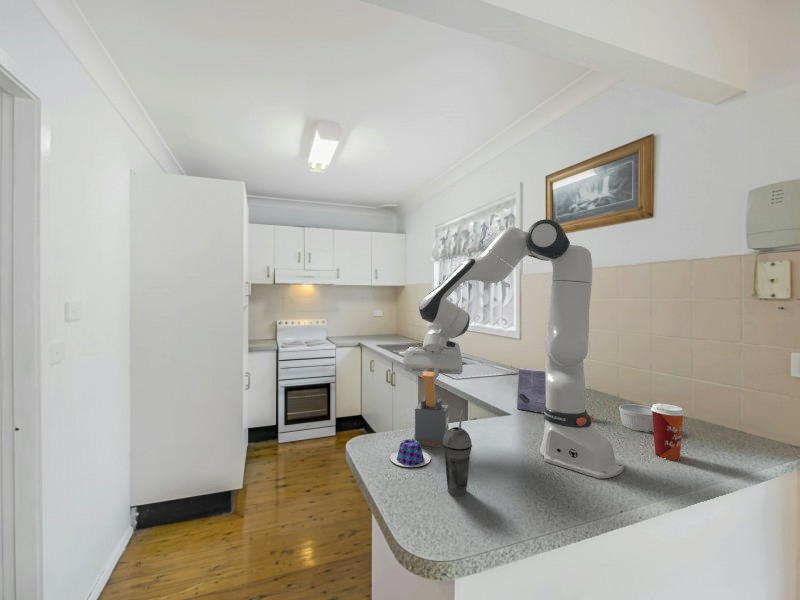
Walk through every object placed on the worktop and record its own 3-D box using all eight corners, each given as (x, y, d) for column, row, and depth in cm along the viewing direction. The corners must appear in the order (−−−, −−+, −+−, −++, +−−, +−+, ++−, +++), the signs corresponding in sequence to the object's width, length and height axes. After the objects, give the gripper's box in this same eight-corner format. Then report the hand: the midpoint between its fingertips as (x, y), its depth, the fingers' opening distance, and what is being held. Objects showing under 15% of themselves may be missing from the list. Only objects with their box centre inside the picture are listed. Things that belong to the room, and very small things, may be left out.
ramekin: (622, 431, 131) (622, 411, 131) (616, 419, 143) (616, 402, 143) (666, 436, 126) (666, 416, 126) (656, 424, 138) (656, 406, 138)
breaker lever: (426, 404, 121) (423, 371, 116) (437, 405, 120) (434, 371, 115) (425, 409, 119) (422, 375, 114) (436, 409, 118) (433, 376, 113)
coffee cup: (675, 464, 104) (675, 412, 104) (645, 453, 111) (645, 405, 111) (690, 458, 108) (690, 408, 108) (660, 448, 115) (660, 401, 115)
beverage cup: (439, 484, 92) (439, 406, 92) (467, 483, 93) (467, 405, 93) (445, 499, 85) (445, 415, 85) (475, 498, 86) (475, 414, 86)
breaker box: (417, 435, 126) (417, 395, 126) (451, 438, 123) (451, 397, 123) (411, 443, 118) (411, 401, 118) (448, 447, 115) (448, 404, 115)
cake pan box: (566, 414, 150) (566, 371, 150) (564, 417, 146) (564, 373, 146) (519, 406, 160) (519, 367, 160) (516, 409, 156) (516, 368, 156)
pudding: (437, 457, 109) (437, 439, 109) (418, 473, 99) (418, 454, 99) (403, 448, 115) (403, 432, 115) (382, 463, 105) (382, 445, 105)
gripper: (404, 341, 127) (396, 374, 118) (463, 343, 121) (459, 379, 112) (408, 352, 131) (400, 385, 122) (464, 355, 126) (461, 389, 116)
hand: (429, 382), depth 117 cm, fingers closed, pressing on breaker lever
